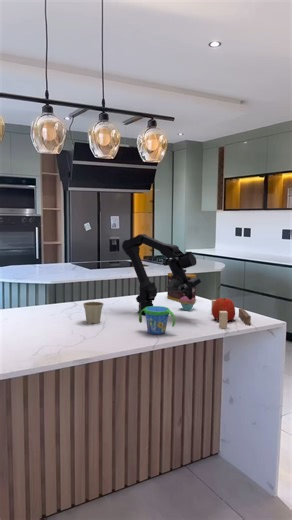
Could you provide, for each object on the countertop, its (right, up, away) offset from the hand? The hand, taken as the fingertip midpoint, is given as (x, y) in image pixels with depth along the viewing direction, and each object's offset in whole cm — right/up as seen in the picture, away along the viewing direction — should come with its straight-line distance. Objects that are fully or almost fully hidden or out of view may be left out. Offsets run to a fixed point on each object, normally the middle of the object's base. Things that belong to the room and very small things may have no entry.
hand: (191, 299), depth 185 cm
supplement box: (0, -5, +47) cm, 47 cm away
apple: (+15, -10, -2) cm, 18 cm away
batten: (+25, -10, -3) cm, 27 cm away
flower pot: (-46, -10, -7) cm, 47 cm away
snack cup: (-17, -12, -23) cm, 31 cm away
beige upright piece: (+13, -9, -3) cm, 16 cm away
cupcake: (0, -7, +20) cm, 21 cm away
